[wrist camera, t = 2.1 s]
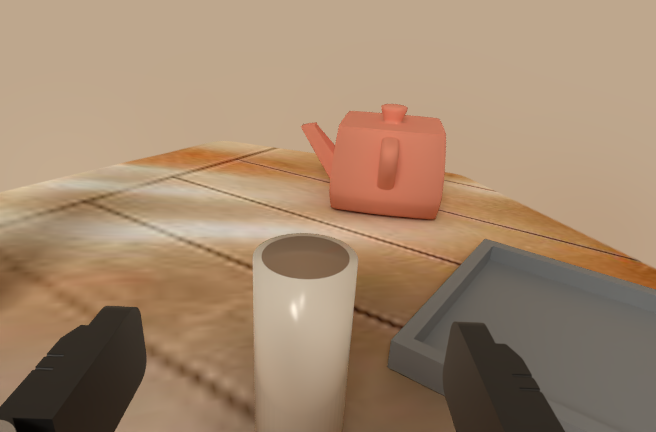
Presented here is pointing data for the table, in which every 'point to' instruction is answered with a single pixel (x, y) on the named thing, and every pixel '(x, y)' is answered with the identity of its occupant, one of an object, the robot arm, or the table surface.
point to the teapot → (384, 162)
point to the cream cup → (302, 332)
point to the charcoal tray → (547, 334)
